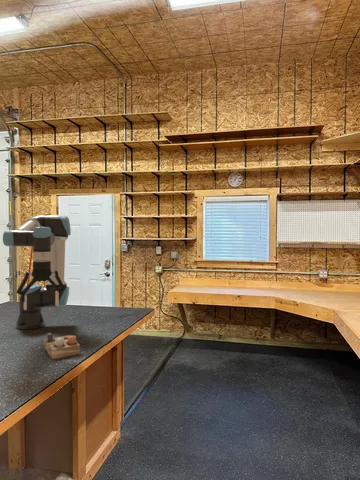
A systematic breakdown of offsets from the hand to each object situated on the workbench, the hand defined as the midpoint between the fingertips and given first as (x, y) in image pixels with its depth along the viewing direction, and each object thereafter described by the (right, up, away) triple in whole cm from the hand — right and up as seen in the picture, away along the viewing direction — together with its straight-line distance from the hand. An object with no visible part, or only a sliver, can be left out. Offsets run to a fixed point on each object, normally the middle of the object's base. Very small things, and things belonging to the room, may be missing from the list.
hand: (41, 307), depth 144 cm
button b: (+9, -17, -2) cm, 19 cm away
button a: (+13, -17, +1) cm, 22 cm away
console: (+8, -21, +3) cm, 22 cm away
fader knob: (+2, -16, +3) cm, 16 cm away
